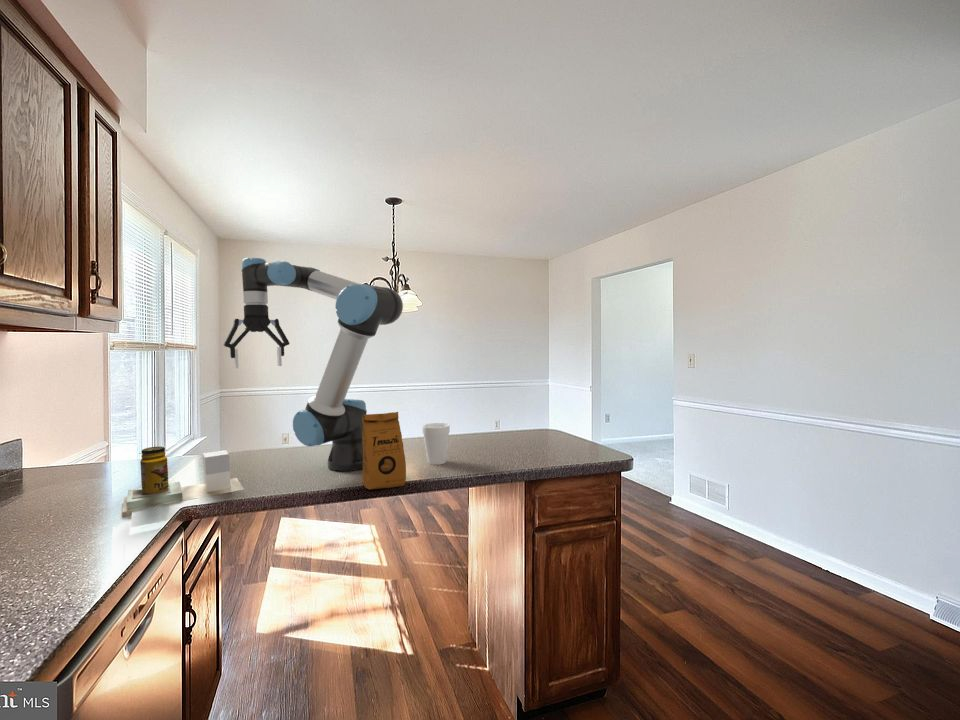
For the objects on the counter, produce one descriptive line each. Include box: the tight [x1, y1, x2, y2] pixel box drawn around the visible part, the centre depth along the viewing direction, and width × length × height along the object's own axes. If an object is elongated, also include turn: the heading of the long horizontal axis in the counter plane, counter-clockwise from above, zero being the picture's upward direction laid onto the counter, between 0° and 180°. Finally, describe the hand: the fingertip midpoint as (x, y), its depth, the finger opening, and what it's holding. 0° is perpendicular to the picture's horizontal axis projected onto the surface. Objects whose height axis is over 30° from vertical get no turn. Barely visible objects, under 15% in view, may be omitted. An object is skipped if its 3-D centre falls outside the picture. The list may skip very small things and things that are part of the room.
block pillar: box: [202, 449, 231, 492], centre depth 137 cm, size 6×6×10 cm
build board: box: [121, 477, 245, 518], centre depth 132 cm, size 28×14×3 cm, turn 126°
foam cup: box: [422, 422, 451, 466], centre depth 164 cm, size 10×9×13 cm
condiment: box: [132, 445, 170, 498], centre depth 127 cm, size 7×8×12 cm
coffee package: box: [362, 411, 407, 490], centre depth 139 cm, size 10×12×22 cm
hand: (258, 366), depth 161 cm, fingers open, 13 cm apart
